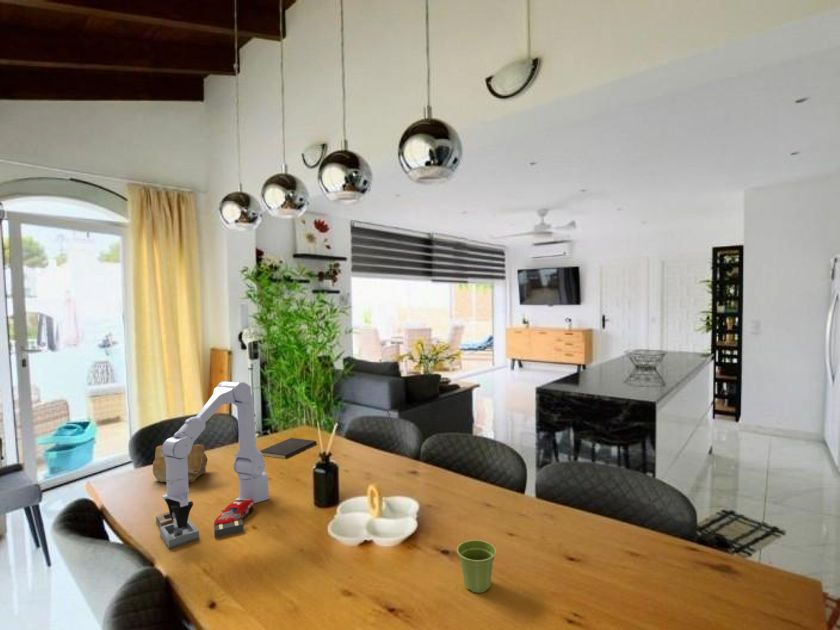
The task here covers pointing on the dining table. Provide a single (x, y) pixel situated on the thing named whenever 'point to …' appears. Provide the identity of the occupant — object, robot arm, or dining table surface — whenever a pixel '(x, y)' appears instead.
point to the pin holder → (164, 519)
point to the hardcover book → (288, 448)
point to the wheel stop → (228, 528)
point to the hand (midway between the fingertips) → (178, 522)
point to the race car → (235, 511)
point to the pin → (176, 527)
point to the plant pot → (476, 564)
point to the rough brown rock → (194, 460)
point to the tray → (188, 535)
